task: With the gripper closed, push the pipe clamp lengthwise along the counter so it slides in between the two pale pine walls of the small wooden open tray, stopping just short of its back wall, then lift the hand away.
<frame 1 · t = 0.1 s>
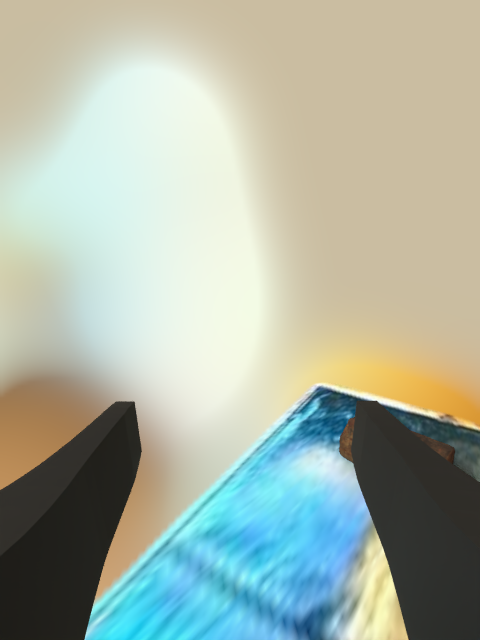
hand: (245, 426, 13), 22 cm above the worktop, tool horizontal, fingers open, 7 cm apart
brick: (390, 472, 42), on the worktop
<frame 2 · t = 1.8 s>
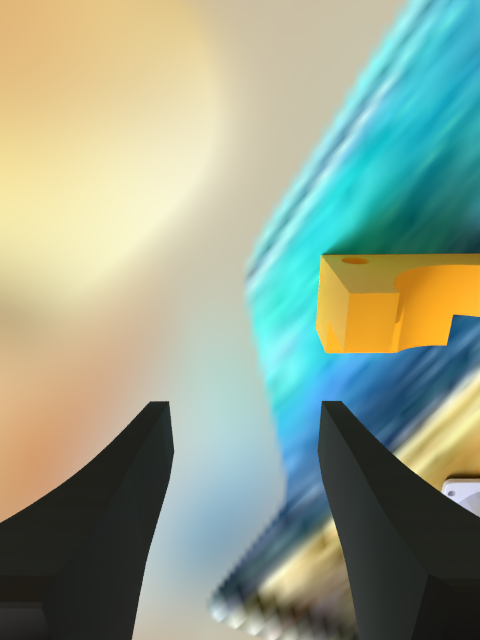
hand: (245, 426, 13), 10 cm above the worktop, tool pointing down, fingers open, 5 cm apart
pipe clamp: (423, 290, 22), on the worktop
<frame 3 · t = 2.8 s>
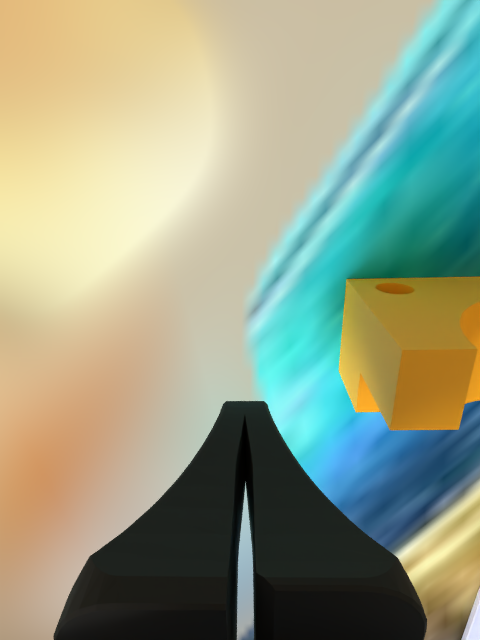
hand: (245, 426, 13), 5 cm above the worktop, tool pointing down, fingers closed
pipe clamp: (479, 321, 17), on the worktop
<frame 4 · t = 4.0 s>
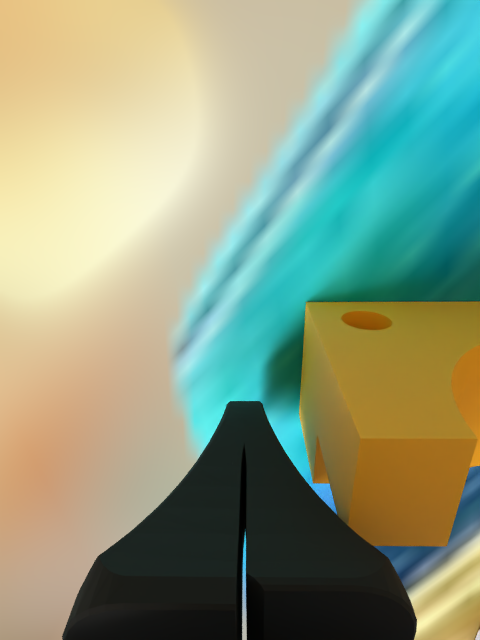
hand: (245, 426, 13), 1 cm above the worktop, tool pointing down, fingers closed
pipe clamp: (476, 358, 13), on the worktop, touching gripper, wooden open tray
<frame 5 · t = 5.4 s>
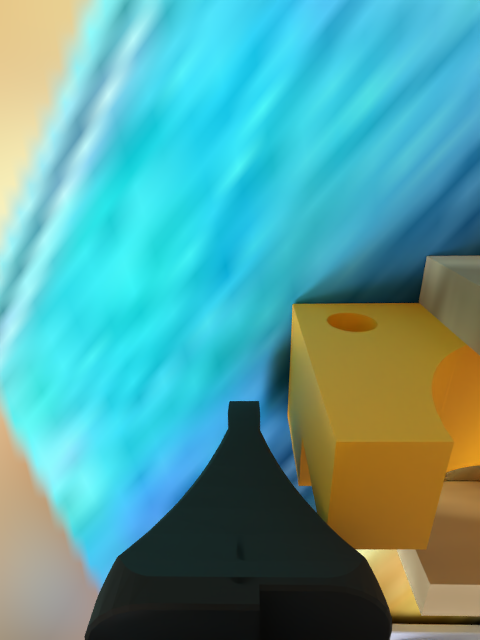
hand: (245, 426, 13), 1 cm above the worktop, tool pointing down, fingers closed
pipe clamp: (464, 359, 13), on the worktop, touching gripper, wooden open tray
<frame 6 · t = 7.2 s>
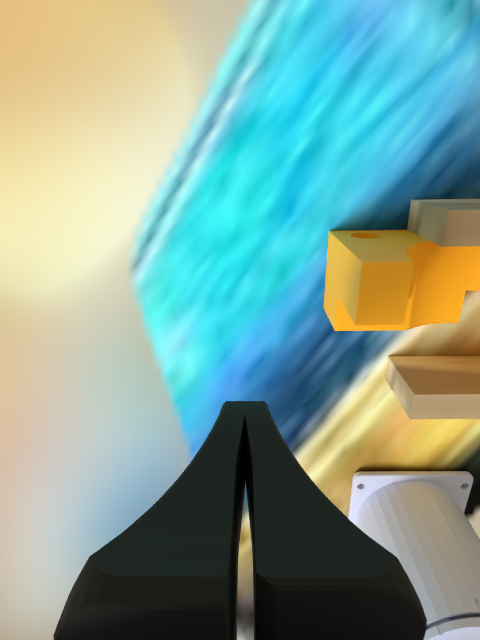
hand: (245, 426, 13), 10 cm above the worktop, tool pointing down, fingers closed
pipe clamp: (434, 267, 21), on the worktop
wooden open tray: (469, 296, 22), on the worktop
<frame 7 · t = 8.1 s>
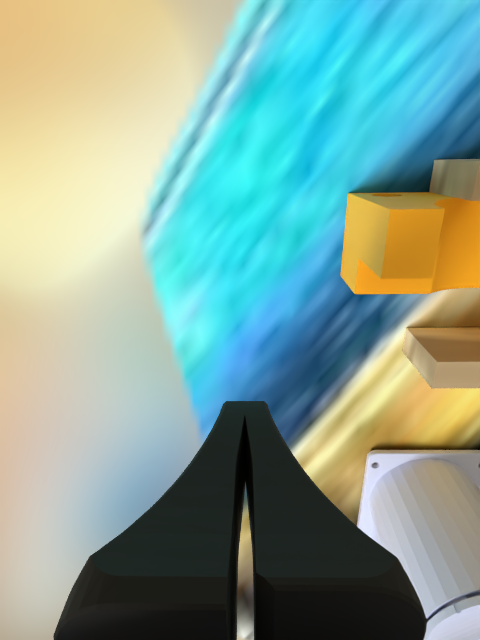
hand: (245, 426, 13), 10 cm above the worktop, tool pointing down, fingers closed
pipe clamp: (455, 233, 21), on the worktop
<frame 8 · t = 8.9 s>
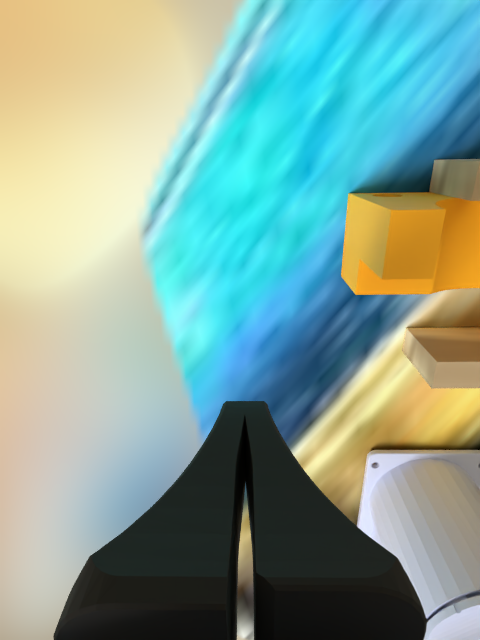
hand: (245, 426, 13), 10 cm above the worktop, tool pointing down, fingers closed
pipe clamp: (456, 233, 21), on the worktop
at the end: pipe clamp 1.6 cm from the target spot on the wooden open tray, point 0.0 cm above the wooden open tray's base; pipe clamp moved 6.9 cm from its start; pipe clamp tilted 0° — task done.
